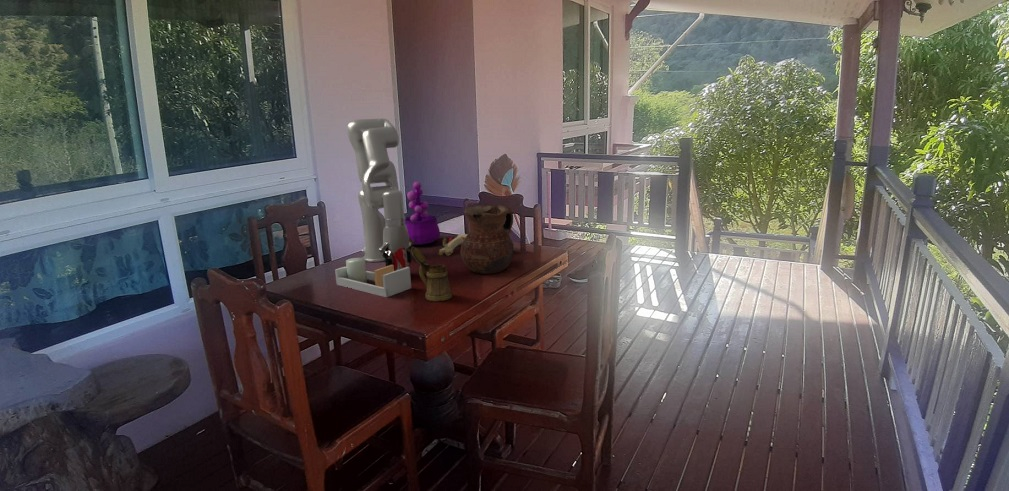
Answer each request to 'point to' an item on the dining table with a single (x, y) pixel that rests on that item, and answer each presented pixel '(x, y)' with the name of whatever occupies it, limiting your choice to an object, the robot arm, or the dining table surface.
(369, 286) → the pusher lane
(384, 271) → the plate
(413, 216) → the decorative plant
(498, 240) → the jug
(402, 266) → the soda can
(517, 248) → the dining table surface
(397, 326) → the dining table surface
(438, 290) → the wooden mug
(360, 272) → the sage jar
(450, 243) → the cream bone
